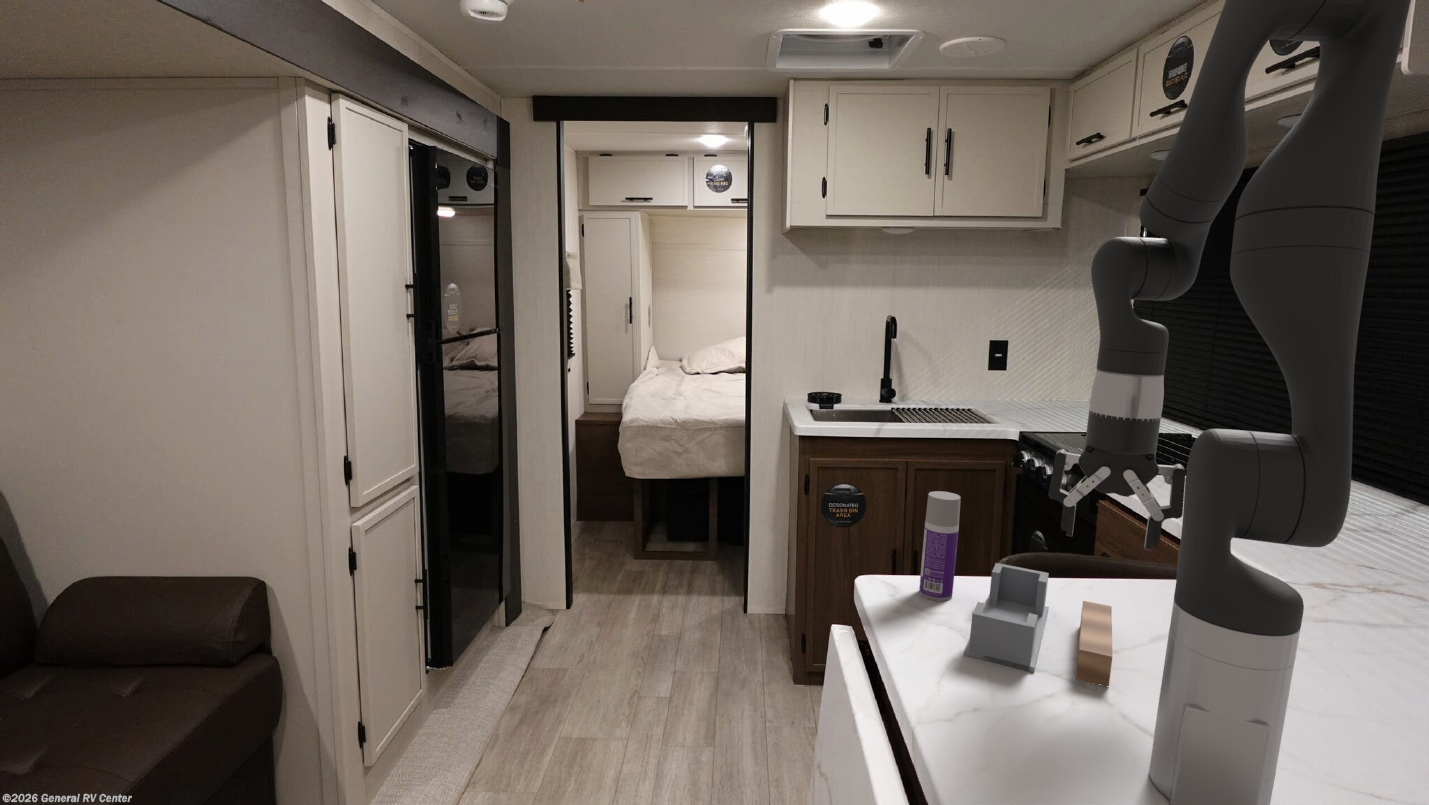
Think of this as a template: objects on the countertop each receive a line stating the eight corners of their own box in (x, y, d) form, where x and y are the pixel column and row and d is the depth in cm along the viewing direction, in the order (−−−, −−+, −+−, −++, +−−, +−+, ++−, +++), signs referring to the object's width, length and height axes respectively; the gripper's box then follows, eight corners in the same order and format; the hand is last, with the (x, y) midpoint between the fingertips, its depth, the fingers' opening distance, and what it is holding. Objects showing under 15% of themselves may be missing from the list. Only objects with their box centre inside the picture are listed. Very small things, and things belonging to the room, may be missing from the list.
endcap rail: (1034, 672, 90) (1039, 628, 89) (964, 655, 93) (968, 612, 93) (1048, 611, 107) (1052, 573, 106) (988, 598, 111) (992, 562, 110)
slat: (1108, 689, 87) (1112, 656, 87) (1075, 681, 89) (1079, 649, 88) (1108, 634, 101) (1111, 606, 101) (1079, 628, 103) (1083, 600, 102)
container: (959, 599, 110) (968, 498, 108) (932, 603, 108) (941, 501, 106) (938, 586, 115) (947, 490, 112) (912, 590, 113) (920, 492, 110)
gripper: (1056, 407, 90) (1041, 539, 93) (1198, 422, 83) (1177, 563, 86) (1061, 399, 96) (1047, 522, 99) (1192, 412, 90) (1174, 544, 93)
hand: (1108, 541), depth 93 cm, fingers open, 8 cm apart
